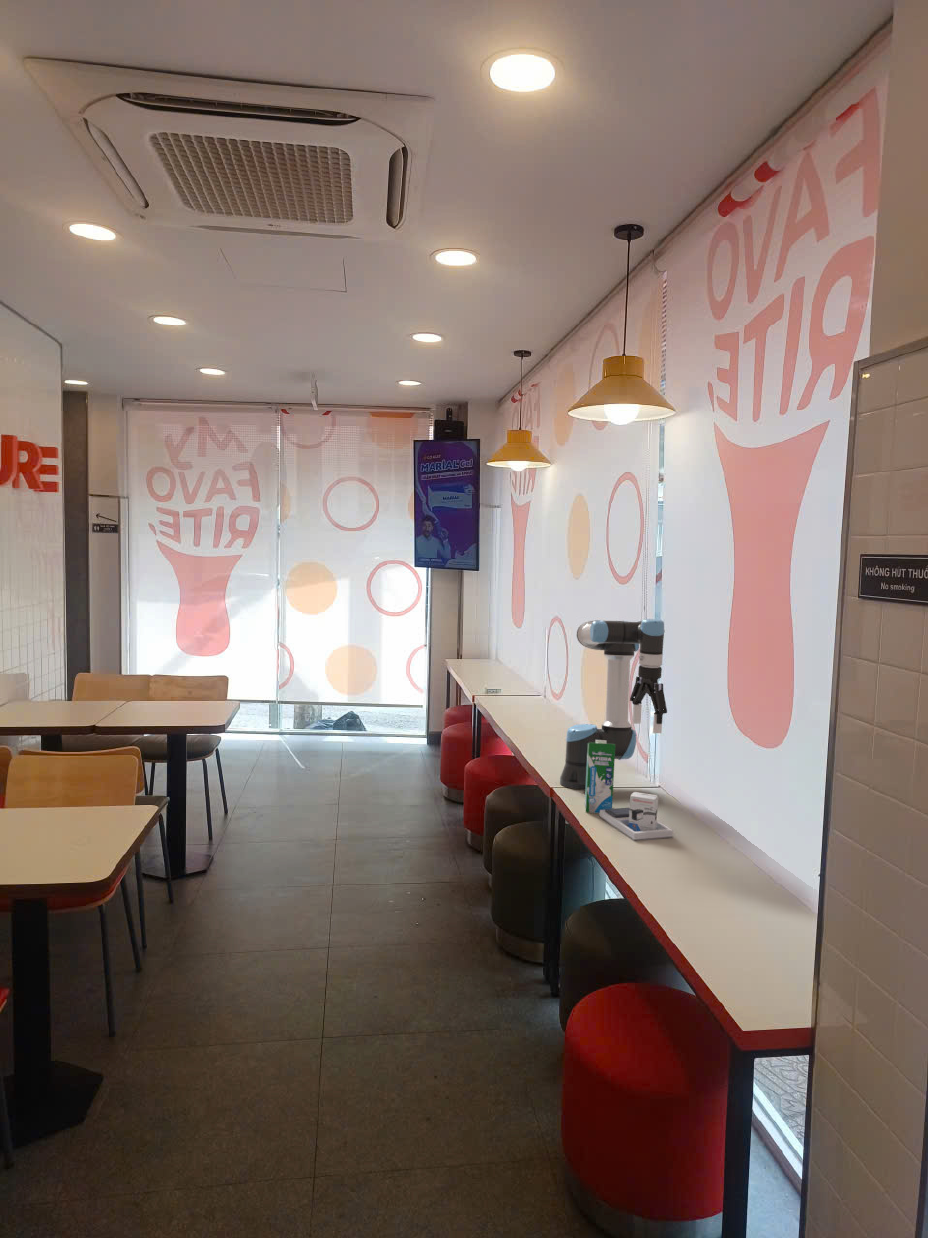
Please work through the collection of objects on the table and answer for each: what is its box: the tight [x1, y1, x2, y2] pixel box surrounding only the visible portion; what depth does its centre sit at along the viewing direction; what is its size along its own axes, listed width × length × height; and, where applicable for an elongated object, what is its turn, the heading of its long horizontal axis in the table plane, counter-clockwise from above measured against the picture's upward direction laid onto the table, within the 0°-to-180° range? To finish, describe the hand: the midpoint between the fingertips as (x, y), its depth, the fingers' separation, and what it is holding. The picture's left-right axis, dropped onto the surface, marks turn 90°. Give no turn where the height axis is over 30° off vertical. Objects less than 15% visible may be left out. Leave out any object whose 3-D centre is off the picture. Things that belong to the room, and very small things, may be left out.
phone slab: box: [605, 807, 630, 818], centre depth 282 cm, size 7×12×1 cm, turn 108°
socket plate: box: [599, 810, 674, 842], centre depth 276 cm, size 24×14×2 cm, turn 18°
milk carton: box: [584, 740, 616, 814], centre depth 293 cm, size 9×9×25 cm
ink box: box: [629, 791, 659, 831], centre depth 272 cm, size 8×5×12 cm, turn 66°
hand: (646, 728), depth 278 cm, fingers open, 13 cm apart
